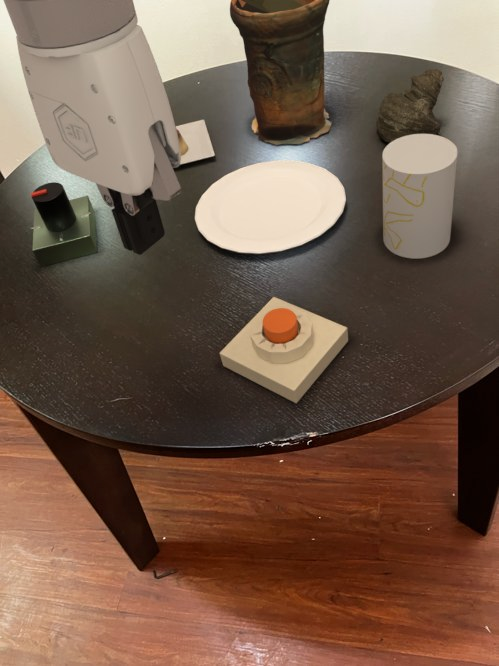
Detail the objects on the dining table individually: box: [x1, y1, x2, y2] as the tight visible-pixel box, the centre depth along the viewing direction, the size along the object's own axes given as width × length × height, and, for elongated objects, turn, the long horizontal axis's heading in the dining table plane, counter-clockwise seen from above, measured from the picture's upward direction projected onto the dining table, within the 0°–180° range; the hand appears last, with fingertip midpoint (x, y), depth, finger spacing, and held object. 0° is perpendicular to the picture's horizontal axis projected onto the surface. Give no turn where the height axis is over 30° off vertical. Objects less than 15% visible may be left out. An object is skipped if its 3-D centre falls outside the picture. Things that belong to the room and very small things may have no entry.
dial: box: [30, 181, 76, 231], centre depth 89 cm, size 4×4×5 cm
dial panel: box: [30, 195, 98, 268], centre depth 92 cm, size 10×9×3 cm
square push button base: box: [219, 296, 349, 404], centre depth 70 cm, size 10×10×4 cm
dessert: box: [175, 119, 216, 166], centre depth 103 cm, size 12×12×5 cm
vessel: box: [229, 0, 332, 146], centre depth 98 cm, size 14×14×20 cm
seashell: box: [375, 68, 444, 144], centre depth 94 cm, size 11×12×10 cm
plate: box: [194, 159, 347, 255], centre depth 89 cm, size 21×21×2 cm
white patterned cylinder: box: [381, 134, 458, 260], centre depth 77 cm, size 8×8×12 cm
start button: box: [263, 308, 298, 344], centre depth 68 cm, size 4×4×2 cm
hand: (145, 242), depth 53 cm, fingers closed
